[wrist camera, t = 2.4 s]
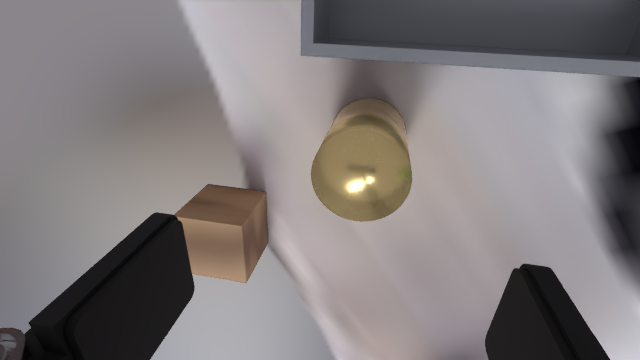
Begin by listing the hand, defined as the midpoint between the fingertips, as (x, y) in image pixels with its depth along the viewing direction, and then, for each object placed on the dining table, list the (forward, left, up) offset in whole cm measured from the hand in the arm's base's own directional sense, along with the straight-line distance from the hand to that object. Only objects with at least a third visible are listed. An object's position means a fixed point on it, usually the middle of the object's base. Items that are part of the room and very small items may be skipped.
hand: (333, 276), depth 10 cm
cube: (-9, +10, -15) cm, 20 cm away
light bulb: (-1, 0, -15) cm, 15 cm away
